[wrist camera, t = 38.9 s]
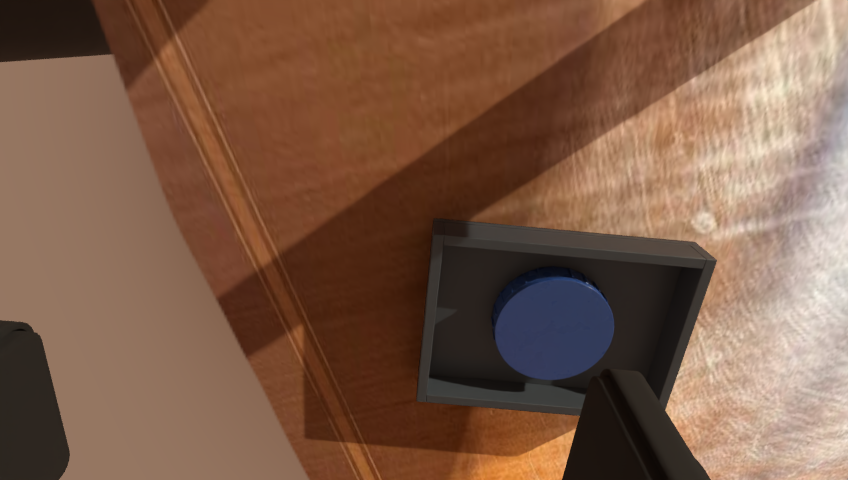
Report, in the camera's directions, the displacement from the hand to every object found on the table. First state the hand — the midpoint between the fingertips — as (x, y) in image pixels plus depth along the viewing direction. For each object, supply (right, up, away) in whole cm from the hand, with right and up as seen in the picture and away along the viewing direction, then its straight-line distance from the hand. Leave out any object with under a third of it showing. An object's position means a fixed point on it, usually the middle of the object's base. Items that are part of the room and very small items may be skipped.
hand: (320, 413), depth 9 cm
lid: (+9, -2, +21) cm, 23 cm away
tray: (+9, -2, +22) cm, 24 cm away
